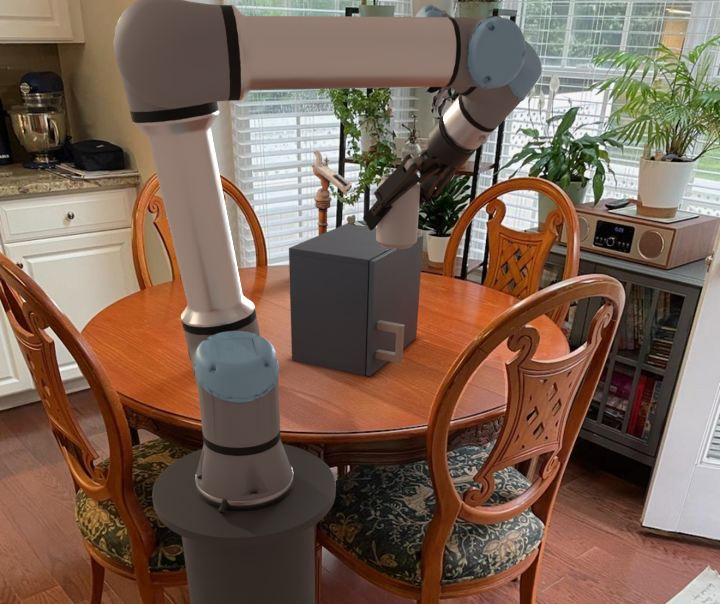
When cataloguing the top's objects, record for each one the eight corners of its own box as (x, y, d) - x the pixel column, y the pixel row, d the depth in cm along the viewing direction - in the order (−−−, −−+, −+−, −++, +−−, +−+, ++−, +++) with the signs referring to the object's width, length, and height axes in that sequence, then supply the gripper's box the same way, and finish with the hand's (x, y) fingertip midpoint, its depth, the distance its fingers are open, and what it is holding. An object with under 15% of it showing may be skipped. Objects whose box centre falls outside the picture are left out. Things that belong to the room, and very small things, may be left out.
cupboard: (411, 337, 172) (418, 233, 159) (365, 375, 151) (368, 259, 139) (345, 324, 178) (346, 223, 165) (291, 360, 158) (288, 247, 145)
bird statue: (361, 271, 219) (365, 147, 201) (354, 283, 208) (357, 153, 190) (309, 268, 221) (307, 144, 203) (299, 279, 210) (297, 150, 192)
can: (370, 241, 133) (372, 172, 127) (407, 239, 135) (410, 171, 129) (384, 251, 127) (387, 179, 121) (423, 248, 129) (428, 177, 123)
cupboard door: (439, 341, 169) (448, 237, 157) (395, 381, 149) (401, 265, 136) (412, 336, 172) (419, 233, 159) (366, 375, 151) (369, 260, 139)
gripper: (429, 157, 107) (353, 246, 125) (509, 147, 119) (429, 230, 137) (405, 114, 107) (333, 210, 125) (488, 109, 119) (411, 197, 137)
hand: (383, 220), depth 131 cm, fingers closed on can, 7 cm apart
